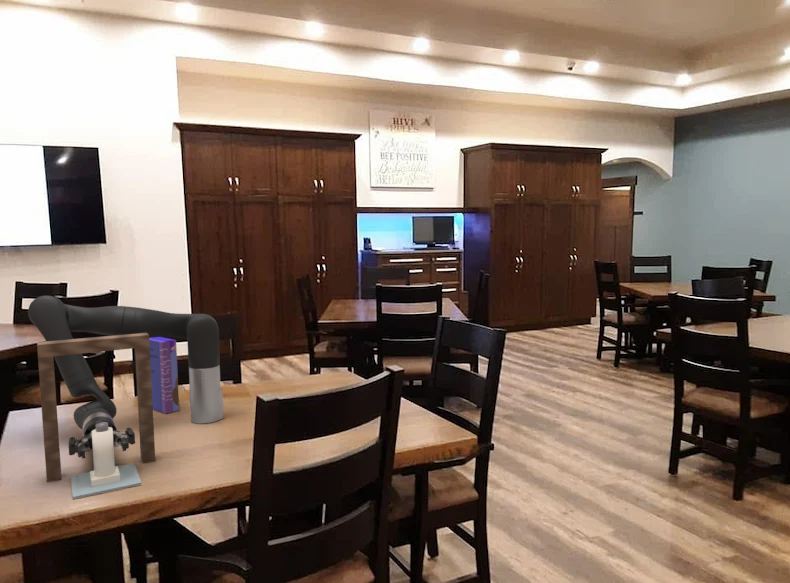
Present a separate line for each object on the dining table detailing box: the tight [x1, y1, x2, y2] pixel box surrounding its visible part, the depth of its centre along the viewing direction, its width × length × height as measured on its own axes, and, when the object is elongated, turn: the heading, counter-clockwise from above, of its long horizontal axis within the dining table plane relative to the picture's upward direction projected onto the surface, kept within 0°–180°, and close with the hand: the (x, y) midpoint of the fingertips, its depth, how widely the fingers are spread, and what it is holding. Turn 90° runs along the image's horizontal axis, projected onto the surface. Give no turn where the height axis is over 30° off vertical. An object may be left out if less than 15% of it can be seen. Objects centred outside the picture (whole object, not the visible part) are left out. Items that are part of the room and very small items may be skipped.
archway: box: [36, 333, 156, 483], centre depth 141 cm, size 24×4×33 cm, turn 121°
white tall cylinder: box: [89, 422, 120, 487], centre depth 134 cm, size 6×6×14 cm
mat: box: [70, 463, 142, 500], centre depth 135 cm, size 14×13×1 cm
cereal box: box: [149, 336, 180, 415], centre depth 191 cm, size 17×5×24 cm, turn 52°
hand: (104, 450), depth 133 cm, fingers open, 8 cm apart
